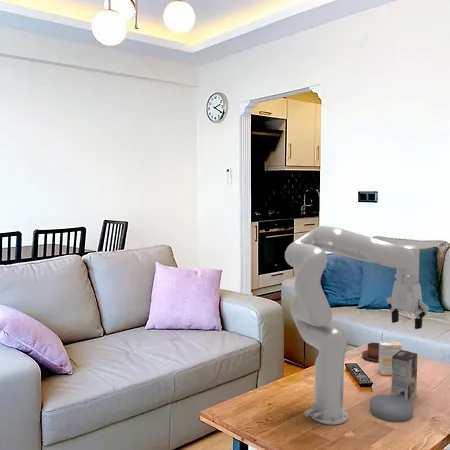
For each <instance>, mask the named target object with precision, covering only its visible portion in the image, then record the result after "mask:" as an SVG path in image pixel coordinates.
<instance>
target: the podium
mask: <svg viewBox="0 0 450 450" xmlns="http://www.w3.org/2000/svg"><path fill="white" fill-rule="evenodd" d="M369 412H370V413H371V414H372V415H373V416H374V417H376V418H378V419H379V420H380V419H381V420H383V421H387V422H392V423H393V422H394V423H395V422H396V423H403V422H407V421H410V420H411V419H412V418H413V416H414V415H413V413H414V406H413V403H412V402H411V401H410V402H409V401H408V400H406V399H403V398H401V397H397V396H392V395H391V394H380V395H375V396H373V397H371V398H370V399H369Z"/></svg>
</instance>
